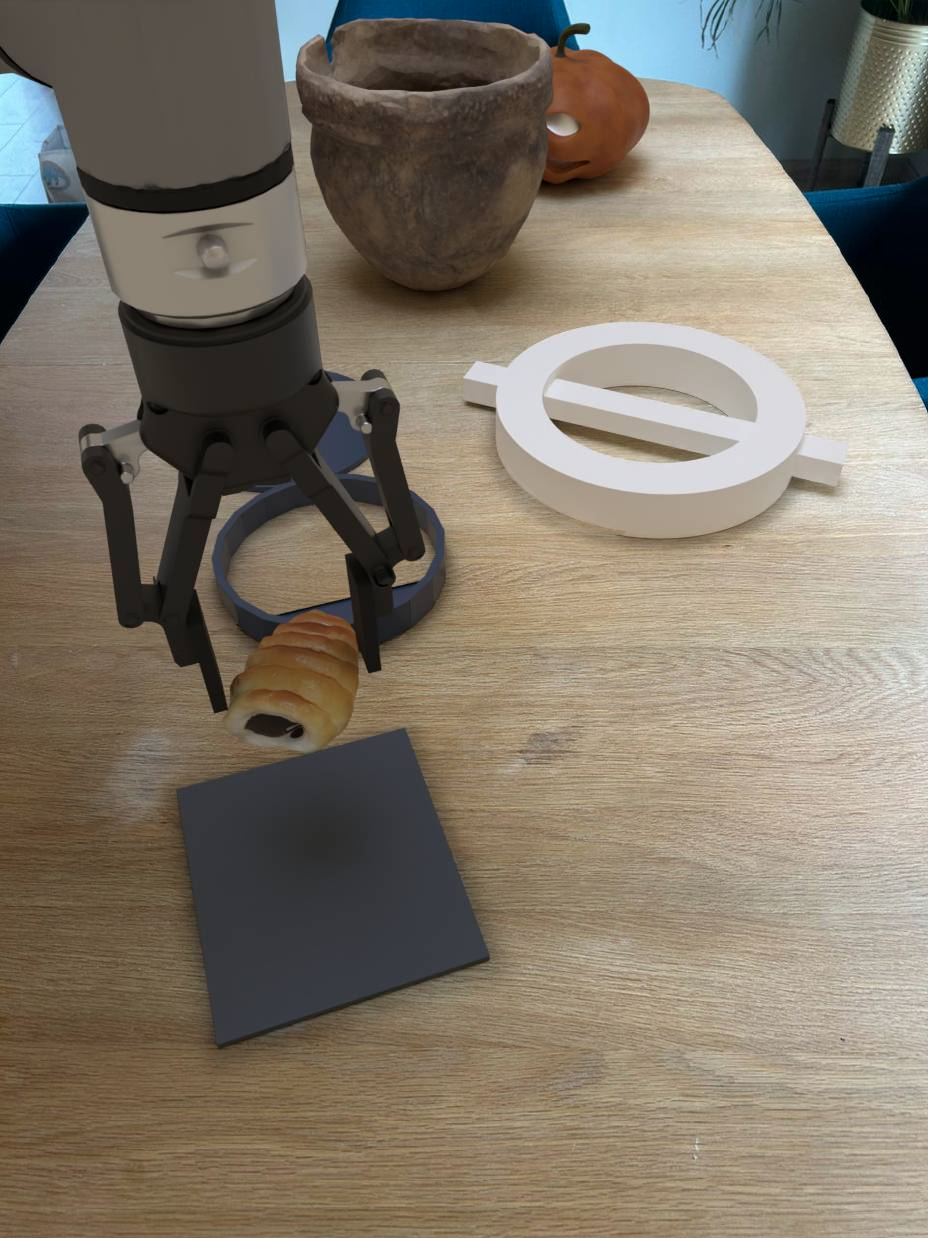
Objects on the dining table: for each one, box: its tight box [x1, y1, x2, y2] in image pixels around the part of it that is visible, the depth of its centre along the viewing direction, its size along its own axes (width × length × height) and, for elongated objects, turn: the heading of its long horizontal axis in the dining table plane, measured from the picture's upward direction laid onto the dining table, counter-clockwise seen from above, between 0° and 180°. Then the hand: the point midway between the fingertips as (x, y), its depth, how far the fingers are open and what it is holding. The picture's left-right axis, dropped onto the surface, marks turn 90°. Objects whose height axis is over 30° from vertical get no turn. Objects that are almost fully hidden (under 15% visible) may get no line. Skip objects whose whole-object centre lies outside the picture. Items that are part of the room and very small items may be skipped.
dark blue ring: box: [211, 473, 447, 651], centre depth 82 cm, size 19×19×3 cm
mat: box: [176, 727, 491, 1049], centre depth 63 cm, size 18×16×1 cm
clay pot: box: [295, 17, 554, 292], centre depth 109 cm, size 26×26×25 cm
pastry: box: [222, 609, 360, 754], centre depth 55 cm, size 9×7×4 cm
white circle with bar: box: [462, 321, 850, 540], centre depth 93 cm, size 28×28×5 cm
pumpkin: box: [542, 22, 651, 185], centre depth 135 cm, size 25×25×19 cm
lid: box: [245, 370, 369, 493], centre depth 94 cm, size 20×20×9 cm
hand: (294, 673), depth 55 cm, fingers closed on pastry, 8 cm apart
